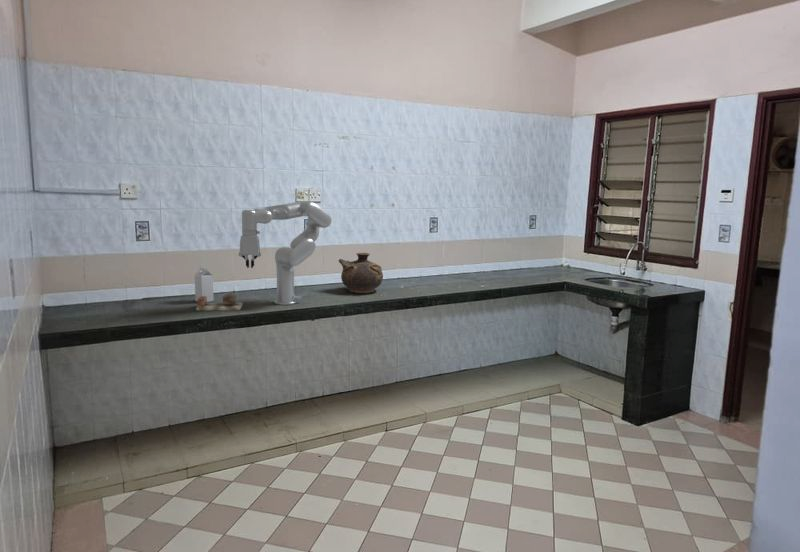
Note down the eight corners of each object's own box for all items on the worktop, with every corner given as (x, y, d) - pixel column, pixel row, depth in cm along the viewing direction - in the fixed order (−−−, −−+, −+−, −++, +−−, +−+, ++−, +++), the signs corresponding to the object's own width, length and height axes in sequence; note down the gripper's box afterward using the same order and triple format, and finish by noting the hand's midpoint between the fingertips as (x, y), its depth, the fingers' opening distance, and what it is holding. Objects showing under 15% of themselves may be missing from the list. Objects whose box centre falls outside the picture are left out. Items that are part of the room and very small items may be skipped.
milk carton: (206, 299, 310) (205, 266, 307) (213, 301, 306) (212, 268, 303) (195, 301, 305) (194, 267, 302) (202, 303, 300) (201, 269, 297)
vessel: (331, 289, 349) (333, 251, 346) (365, 287, 368) (367, 251, 365) (357, 296, 329) (359, 255, 326) (391, 293, 348) (393, 255, 345)
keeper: (236, 303, 294) (235, 294, 294) (234, 305, 289) (234, 296, 288) (224, 303, 293) (224, 294, 293) (222, 305, 288) (222, 296, 287)
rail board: (242, 305, 298) (242, 295, 297) (239, 310, 287) (239, 299, 286) (200, 305, 294) (200, 295, 293) (196, 310, 283) (196, 300, 282)
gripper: (265, 232, 291) (265, 266, 295) (235, 232, 289) (235, 266, 292) (264, 234, 284) (264, 268, 287) (233, 233, 282) (234, 268, 285)
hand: (250, 267), depth 290 cm, fingers closed
